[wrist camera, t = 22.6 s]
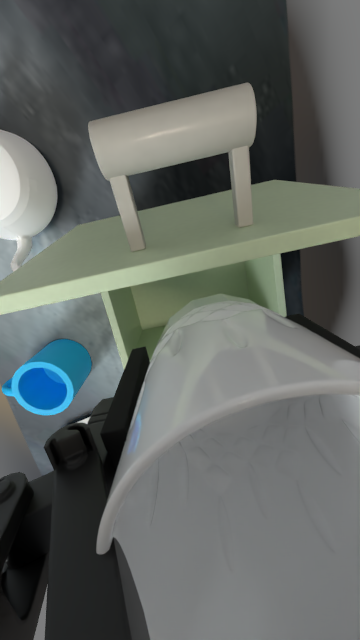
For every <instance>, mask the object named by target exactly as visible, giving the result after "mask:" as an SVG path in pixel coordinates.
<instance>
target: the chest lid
mask: <svg viewBox="0 0 360 640" xmlns="http://www.w3.org/2000/svg"><path fill="white" fill-rule="evenodd" d="M256 124H257V111H256V101H255V95H254V91H253V88H252V86H251V85H250V84H249V83H243V84H239V85H235V86H231V87H227V88H223V89H219V90H215V91H211V92H207V93H203V94H199V95H195V96H191V97H187V98H183V99H179V100H175V101H170V102H166V103H162V104H158V105H154V106H150V107H146V108H142V109H138V110H134V111H130V112H126V113H122V114H118V115H114V116H110V117H106V118H102V119H98V120H93V121H90V122H89V123H88V129H89V136H90V140H91V144H92V148H93V151H94V154H95V157H96V160H97V163H98V165H99V168H100V170H101V172H102V174H103V176H104V177H105V179H106V180H110V183H111V186H112V190H113V193H114V196H115V200H116V203H117V206H118V210H119V213H120V216H115V217H111V218H107V219H102V220H98V221H94V222H89V223H85V224H81V225H78V226H76V227H75V228H74V229H72V230H71V231H69V232H68V233H67V234H65V235H64V236H62V237H61V238H60V239H58V240H57V241H56V242H54V243H53V244H51V245H50V246H49V247H47V248H46V249H44V250H43V251H42V252H40V253H39V254H38V255H36V256H35V257H33V258H32V259H31V260H29V261H28V262H27V263H25V264H24V265H22V266H21V267H20V268H18V269H17V270H15V271H14V272H13V273H11V274H10V275H9V276H7V277H6V278H4V279H3V280H2V281H0V315H2V314H6V313H11V312H16V311H20V310H25V309H29V308H34V307H38V306H43V305H47V304H52V303H57V302H61V301H66V300H70V299H75V298H79V297H84V296H88V295H93V294H98V293H102V292H107V291H111V290H116V289H120V288H125V287H129V286H134V285H139V284H143V283H148V282H152V281H157V280H161V279H166V278H170V277H175V276H180V275H184V274H189V273H193V272H198V271H202V270H207V269H212V268H216V267H221V266H225V265H230V264H234V263H239V262H243V261H248V260H253V259H257V258H262V257H266V256H271V255H275V254H280V253H284V252H289V251H294V250H298V249H303V248H307V247H312V246H316V245H321V244H325V243H330V242H334V241H339V240H344V239H348V238H353V237H357V236H360V189H356V188H347V187H338V186H328V185H319V184H310V183H301V182H292V181H282V180H271V181H267V182H263V183H258V184H254V185H251V177H250V160H249V147H250V146H251V145H252V144H253V142H254V138H255V133H256ZM226 152H228V154H229V165H230V176H231V186H232V190H228V191H224V192H219V193H215V194H211V195H206V196H202V197H198V198H193V199H189V200H185V201H180V202H176V203H172V204H167V205H163V206H159V207H154V208H150V209H146V210H141V211H137V208H136V204H135V201H134V197H133V193H132V189H131V186H130V182H129V178H128V176H129V175H134V174H138V173H142V172H146V171H150V170H155V169H159V168H163V167H167V166H172V165H176V164H180V163H184V162H188V161H193V160H197V159H201V158H205V157H210V156H214V155H218V154H222V153H226Z"/></svg>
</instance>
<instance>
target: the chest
mask: <svg viewBox="0 0 360 640" xmlns="http://www.w3.org/2000/svg"><path fill="white" fill-rule="evenodd" d="M220 293H222V294H226V295H231V296H236V297H240V298H245V299H249V300H251V301H253V302H255V303H256V304H258V305H259V306H262V307H265V308H267V309H269V310H272V311H274V312H276V313H278V314H280V315H282V316H284V317H286V316H287V315H286V305H285V295H284V285H283V275H282V265H281V256H280V254H275V255H271V256H266V257H262V258H257V259H253V260H248V261H243V262H239V263H234V264H230V265H225V266H221V267H216V268H212V269H207V270H202V271H198V272H193V273H189V274H184V275H180V276H175V277H170V278H166V279H161V280H157V281H152V282H148V283H143V284H139V285H134V286H129V287H125V288H120V289H116V290H111V291H107V292H102V293H101V296H102V299H103V302H104V305H105V309H106V312H107V315H108V318H109V322H110V325H111V328H112V332H113V335H114V338H115V341H116V345H117V348H118V351H119V354H120V358H121V361H122V364H123V367H124V369H125V367H126V364H127V361H128V359H129V356H130V354H131V351H132V349H136V348H140V347H145V346H146V349H147V353H148V357H149V360H150V361H151V358H152V356H153V353H154V350H155V348H156V346H157V344H158V341H159V339H160V337H161V335H162V333H163V331H164V329H165V327H166V324H167V322H168V320H169V318H170V317H172V316H173V315H174V314H175V313H177V312H178V311H179V310H180V309H182V308H183V307H184V306H185V305H187V304H188V303H189V302H191V301H192V300H195V299H199V298H203V297H208V296H212V295H216V294H220Z"/></svg>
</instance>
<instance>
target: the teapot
mask: <svg viewBox="0 0 360 640" xmlns="http://www.w3.org/2000/svg"><path fill="white" fill-rule="evenodd" d="M57 198H58V196H57V186H56V182H55V179H54V176H53V173H52V171H51V169H50V167H49V165H48V163H47V162H46V160H45V159H44V157H43V156H42V155H41V153H40V152H39V151H38V150H37V149H36V148H35V147H34V146H33V145H31V144H30V143H29V142H28V141H26V140H25V139H23V138H21V137H19V136H17V135H15V134H13V133H10V132H7V131H4V130H0V238H2V239H8V240H17V248H18V249H17V251H16V253H15V255H14V257H13V260H12V263H11V269H12V271H13V272H14V271H15V270H17V269H18V268H20V267H21V265H22V263H23V261H24V260H25V259H26V257H27V256H28V255H29V253H30V251H31V248H32V237H33V236H35V235H37V234H38V233H40V232H41V231H42V230H43V229H44V228H45V227H46V226H47V225H48V224H49V223H50V221H51V219H52V217H53V215H54V213H55V210H56V205H57Z"/></svg>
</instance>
